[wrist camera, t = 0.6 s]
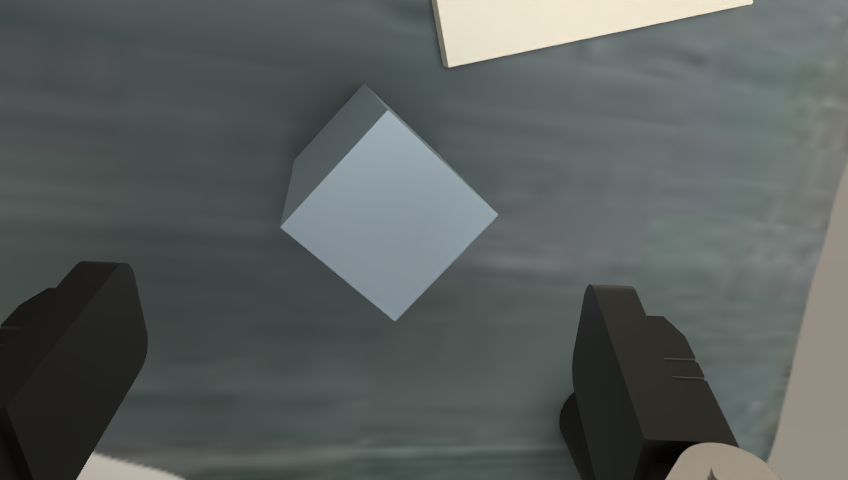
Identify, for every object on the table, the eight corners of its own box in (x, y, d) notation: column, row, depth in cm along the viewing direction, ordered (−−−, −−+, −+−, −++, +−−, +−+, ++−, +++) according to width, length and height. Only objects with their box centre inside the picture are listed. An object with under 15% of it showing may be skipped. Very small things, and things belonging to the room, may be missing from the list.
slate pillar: (294, 159, 32) (279, 226, 21) (364, 83, 32) (387, 109, 20) (370, 225, 34) (395, 321, 23) (438, 153, 33) (498, 214, 22)
